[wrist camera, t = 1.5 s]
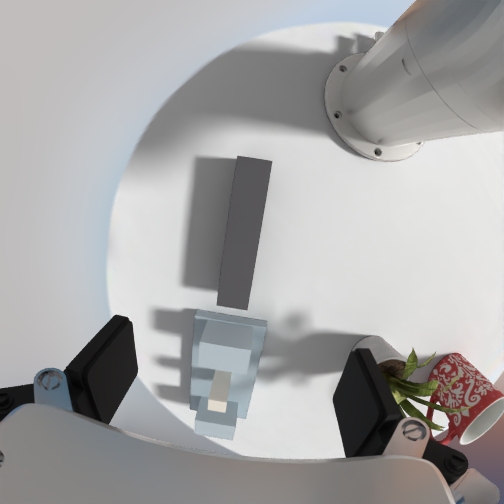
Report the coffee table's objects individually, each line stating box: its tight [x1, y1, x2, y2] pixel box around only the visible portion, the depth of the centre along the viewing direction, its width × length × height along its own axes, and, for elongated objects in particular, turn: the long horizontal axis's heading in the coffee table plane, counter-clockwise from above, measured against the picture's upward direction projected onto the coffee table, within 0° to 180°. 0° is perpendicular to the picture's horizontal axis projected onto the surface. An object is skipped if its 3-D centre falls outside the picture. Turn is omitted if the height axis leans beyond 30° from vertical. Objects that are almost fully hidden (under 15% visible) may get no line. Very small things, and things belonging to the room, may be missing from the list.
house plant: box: [352, 336, 476, 431], centre depth 24 cm, size 14×14×16 cm
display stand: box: [190, 310, 267, 440], centre depth 30 cm, size 16×8×7 cm, turn 171°
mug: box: [426, 353, 504, 445], centre depth 27 cm, size 13×9×14 cm
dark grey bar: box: [217, 156, 272, 310], centre depth 26 cm, size 14×3×4 cm, turn 171°
